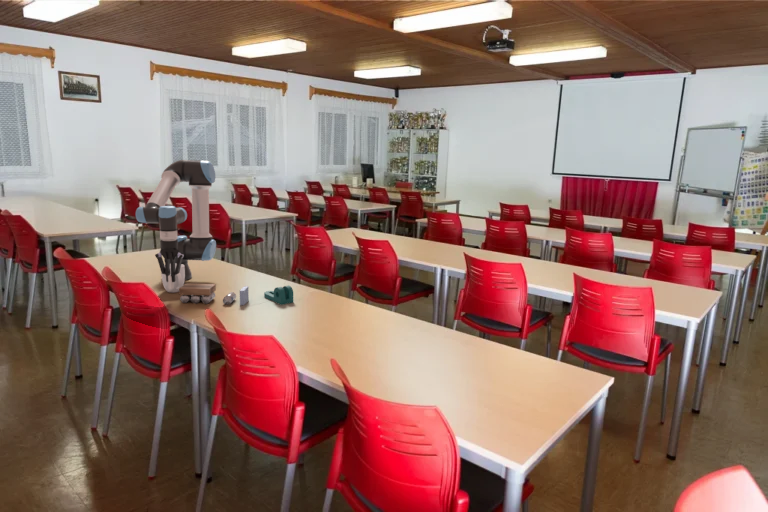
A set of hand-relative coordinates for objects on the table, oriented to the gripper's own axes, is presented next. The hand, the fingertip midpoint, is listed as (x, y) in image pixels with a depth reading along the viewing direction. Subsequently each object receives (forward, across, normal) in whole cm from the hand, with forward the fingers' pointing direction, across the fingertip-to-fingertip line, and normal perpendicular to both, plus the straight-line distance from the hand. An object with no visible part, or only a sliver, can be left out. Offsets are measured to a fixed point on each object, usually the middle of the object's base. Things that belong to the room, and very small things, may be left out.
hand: (171, 288), depth 242 cm
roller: (+4, +27, 0) cm, 28 cm away
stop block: (+6, +34, 0) cm, 35 cm away
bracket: (+6, +49, +8) cm, 50 cm away
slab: (+1, +12, 0) cm, 13 cm away
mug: (+6, -5, +15) cm, 17 cm away
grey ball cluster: (+6, +12, 0) cm, 14 cm away
